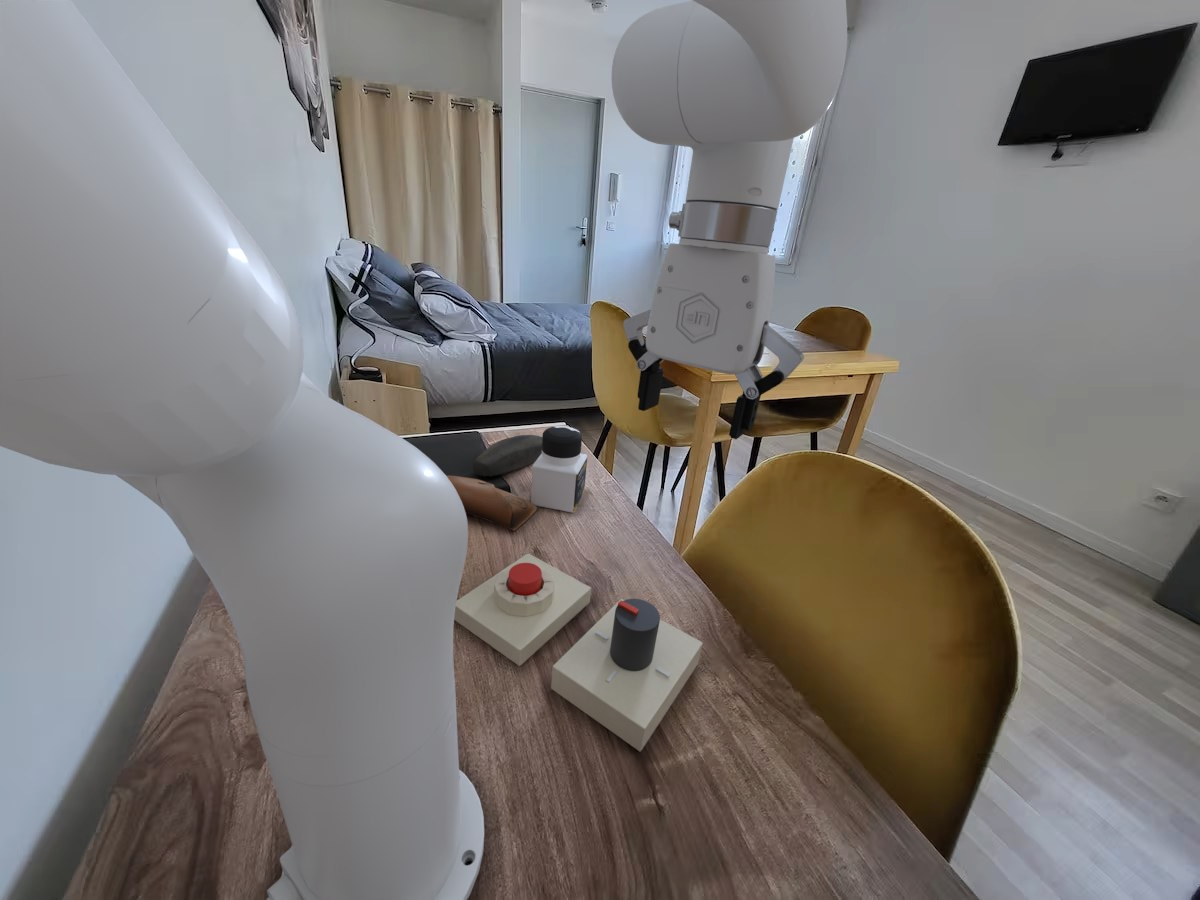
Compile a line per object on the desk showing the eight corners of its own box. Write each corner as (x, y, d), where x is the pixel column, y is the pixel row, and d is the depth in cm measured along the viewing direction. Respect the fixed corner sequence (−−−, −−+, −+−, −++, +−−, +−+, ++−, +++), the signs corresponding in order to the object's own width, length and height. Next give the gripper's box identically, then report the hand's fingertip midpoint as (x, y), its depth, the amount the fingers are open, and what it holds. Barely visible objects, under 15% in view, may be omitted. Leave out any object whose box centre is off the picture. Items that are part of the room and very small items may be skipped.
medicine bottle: (574, 513, 75) (579, 443, 70) (529, 505, 76) (532, 435, 71) (584, 492, 81) (590, 426, 76) (543, 484, 82) (547, 419, 77)
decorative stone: (525, 443, 97) (526, 424, 95) (552, 452, 94) (553, 433, 93) (465, 474, 83) (465, 452, 81) (495, 486, 80) (495, 463, 79)
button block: (519, 666, 48) (520, 636, 47) (452, 619, 53) (451, 590, 51) (590, 602, 57) (593, 575, 56) (527, 566, 62) (528, 541, 61)
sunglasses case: (541, 505, 75) (531, 481, 70) (520, 544, 72) (507, 522, 66) (447, 475, 81) (431, 451, 76) (423, 510, 77) (404, 488, 72)
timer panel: (640, 752, 41) (645, 727, 40) (550, 688, 46) (552, 664, 45) (698, 663, 51) (703, 641, 49) (618, 618, 55) (621, 596, 54)
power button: (525, 601, 52) (526, 588, 51) (501, 586, 53) (501, 573, 53) (547, 584, 54) (548, 571, 54) (524, 570, 56) (524, 558, 55)
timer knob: (660, 651, 48) (668, 609, 46) (638, 679, 45) (646, 636, 42) (624, 630, 50) (630, 589, 48) (601, 655, 47) (606, 613, 44)
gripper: (616, 219, 42) (597, 406, 49) (824, 238, 34) (766, 459, 41) (656, 226, 48) (634, 391, 55) (842, 243, 40) (789, 436, 47)
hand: (690, 420), depth 48 cm, fingers open, 9 cm apart
